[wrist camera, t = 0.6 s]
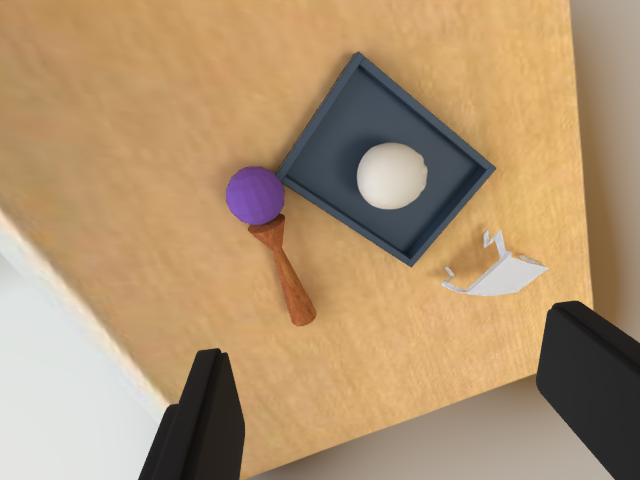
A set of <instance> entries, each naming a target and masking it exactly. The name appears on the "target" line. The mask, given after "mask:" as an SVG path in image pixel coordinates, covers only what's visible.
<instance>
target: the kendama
mask: <svg viewBox="0 0 640 480" xmlns="http://www.w3.org/2000/svg"><path fill="white" fill-rule="evenodd" d="M226 202H227V204H228V206H229V208H230V211H231V212H232V213H233V214H234V215H235V216H236V217H237V218H238V219H239V220H240V221H242V222H245V223H248V224H251V225H250V226H249V228H248V231H249V232H250V233H252V234H253V235H254V236H255V237H256V238H257V239H259V240H260V241H261V242H262V243H263V244H264V245H266V246H267V247H268V248H269V249H270V250H272V251H273V254H274V258H275V262H276V265H277V269H278V273H279V276H280V280H281V284H282V288H283V291H284V295H285V299H286V302H287V306H288V310H289V313H290V317H291V321H292V323H293V324H294V325H296V326H304V325H308V324H309V323H311V322H312V321H313V320H314V319H315V318H316V315H317V314H316V310H315V308H314V306H313V305H312V303H311V301H310V299H309V297H308V295H307V294H306V292H305V290H304V288H303V286H302V284H301V282H300V281H299V279H298V277H297V275H296V273H295V271H294V269H293V268H292V266H291V264H290V262H289V260H288V258H287V257H286V255H285V253H284V251H283V249H282V242H283V233H284V223H285V216H284V215H283V214H279V213H280V211H281V209H282V208H283V206H284V188H283V186H282V183H281V180H280V179H279V178H278V177H277V176H276V175H275V174H274V173H273V172H271V171H269V170H267V169H265V168H262V167H246V168H243V169H241V170H240V171H239V172H237V173H236V174H235V175H234V176H233V177H232V178H231V180H230V182H229V184H228V187H227V189H226Z"/></svg>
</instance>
